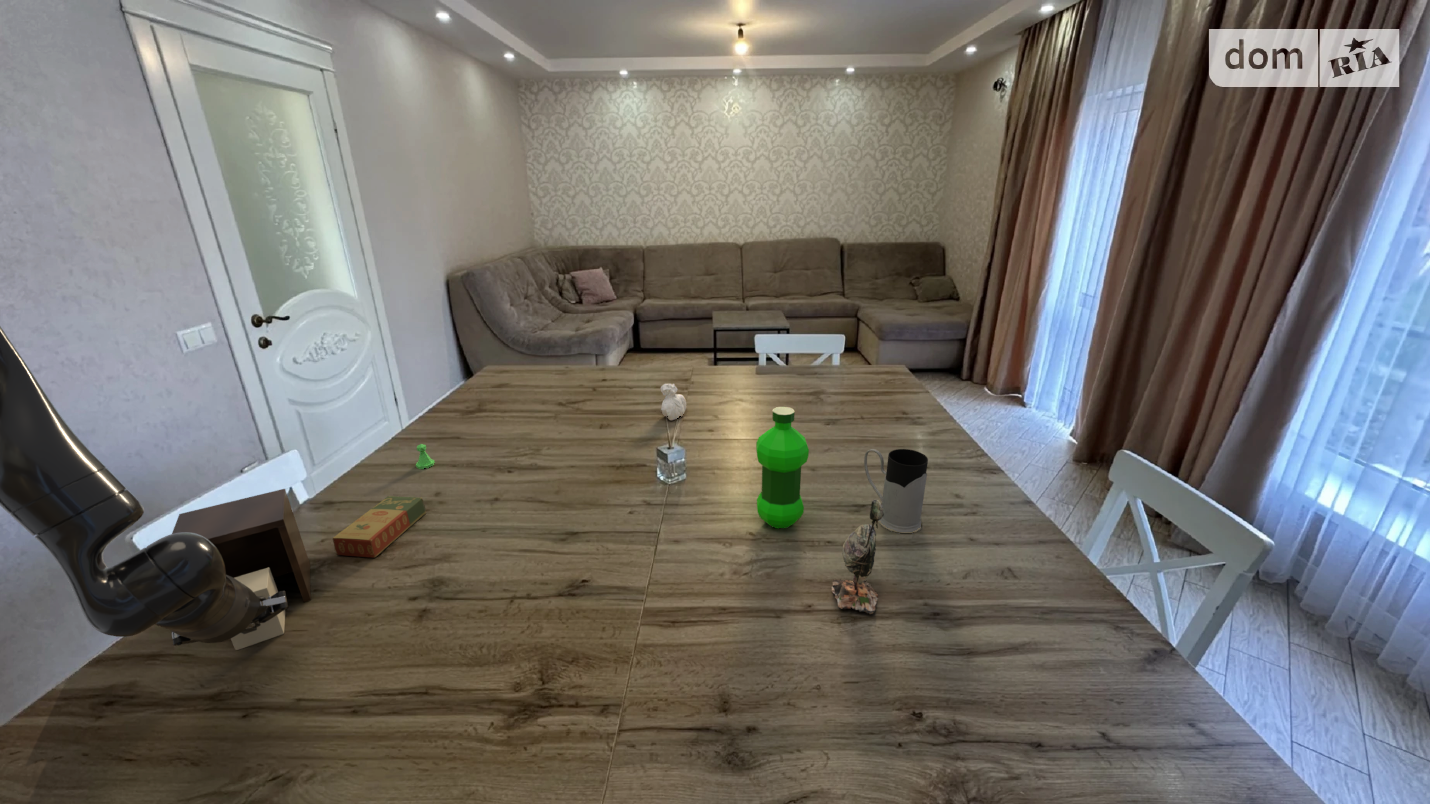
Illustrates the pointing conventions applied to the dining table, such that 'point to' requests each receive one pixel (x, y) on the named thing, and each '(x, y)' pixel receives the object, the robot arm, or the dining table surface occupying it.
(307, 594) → the walnut shelf
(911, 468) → the glass holder
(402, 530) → the carton
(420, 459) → the game piece
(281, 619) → the cream box
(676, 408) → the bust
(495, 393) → the dining table surface
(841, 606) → the bird figurine
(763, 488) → the plastic bottle
